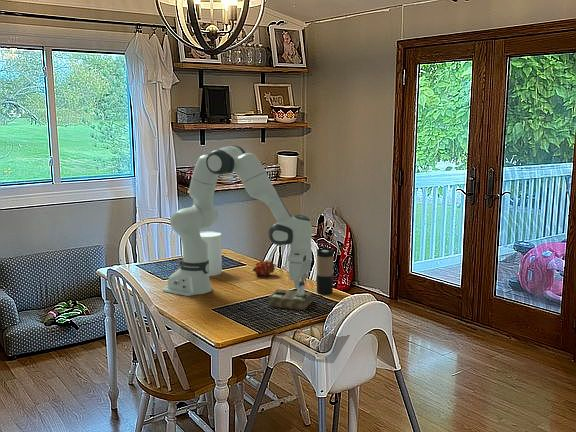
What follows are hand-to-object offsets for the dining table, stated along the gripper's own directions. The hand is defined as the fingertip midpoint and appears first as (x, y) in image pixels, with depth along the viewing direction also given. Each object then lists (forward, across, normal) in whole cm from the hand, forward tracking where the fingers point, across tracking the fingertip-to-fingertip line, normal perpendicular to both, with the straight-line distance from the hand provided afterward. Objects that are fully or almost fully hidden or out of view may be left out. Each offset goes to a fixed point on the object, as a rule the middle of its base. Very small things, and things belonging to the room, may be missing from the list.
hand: (300, 285), depth 258 cm
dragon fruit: (+9, -38, -30) cm, 49 cm away
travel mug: (+9, -20, +6) cm, 22 cm away
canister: (+10, -35, -59) cm, 69 cm away
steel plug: (+9, 0, 0) cm, 9 cm away
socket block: (+9, 0, -4) cm, 10 cm away
